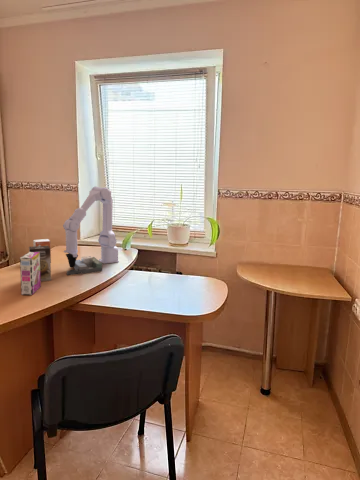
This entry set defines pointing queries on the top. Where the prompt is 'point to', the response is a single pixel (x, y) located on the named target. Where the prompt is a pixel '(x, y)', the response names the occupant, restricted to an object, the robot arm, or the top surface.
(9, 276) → the top surface
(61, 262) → the top surface
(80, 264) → the grey rectangular bar
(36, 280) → the candy bar box
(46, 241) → the small box
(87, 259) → the steel block
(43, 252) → the coffee box
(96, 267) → the vise
